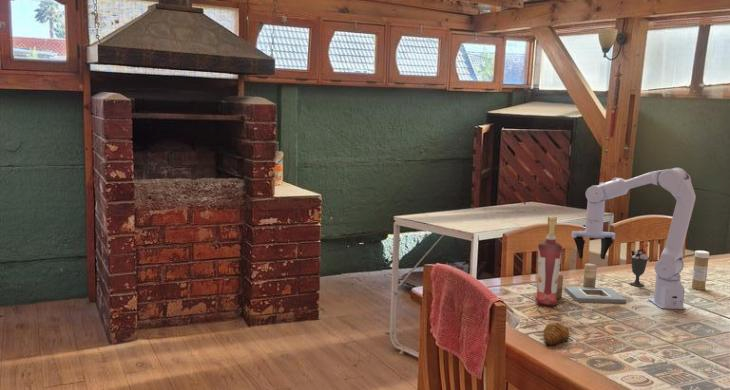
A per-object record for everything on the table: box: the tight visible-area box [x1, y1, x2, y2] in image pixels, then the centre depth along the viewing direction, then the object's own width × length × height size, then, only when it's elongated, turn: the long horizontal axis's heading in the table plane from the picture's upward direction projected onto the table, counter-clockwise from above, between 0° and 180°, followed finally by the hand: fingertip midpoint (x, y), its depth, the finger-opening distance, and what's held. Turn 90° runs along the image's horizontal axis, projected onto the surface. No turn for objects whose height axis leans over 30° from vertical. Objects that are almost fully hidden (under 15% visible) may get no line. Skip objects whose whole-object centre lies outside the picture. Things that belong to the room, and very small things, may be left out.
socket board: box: [564, 286, 627, 304], centre depth 213 cm, size 13×16×1 cm
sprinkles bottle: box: [691, 249, 710, 291], centre depth 227 cm, size 5×5×13 cm
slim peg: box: [582, 263, 598, 288], centre depth 224 cm, size 4×4×8 cm
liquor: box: [534, 216, 563, 307], centre depth 202 cm, size 7×7×28 cm
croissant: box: [542, 322, 570, 347], centre depth 173 cm, size 14×7×5 cm, turn 146°
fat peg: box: [556, 273, 564, 299], centre depth 213 cm, size 7×7×7 cm
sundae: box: [629, 244, 651, 288], centre depth 228 cm, size 7×7×15 cm
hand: (591, 258), depth 223 cm, fingers open, 7 cm apart
